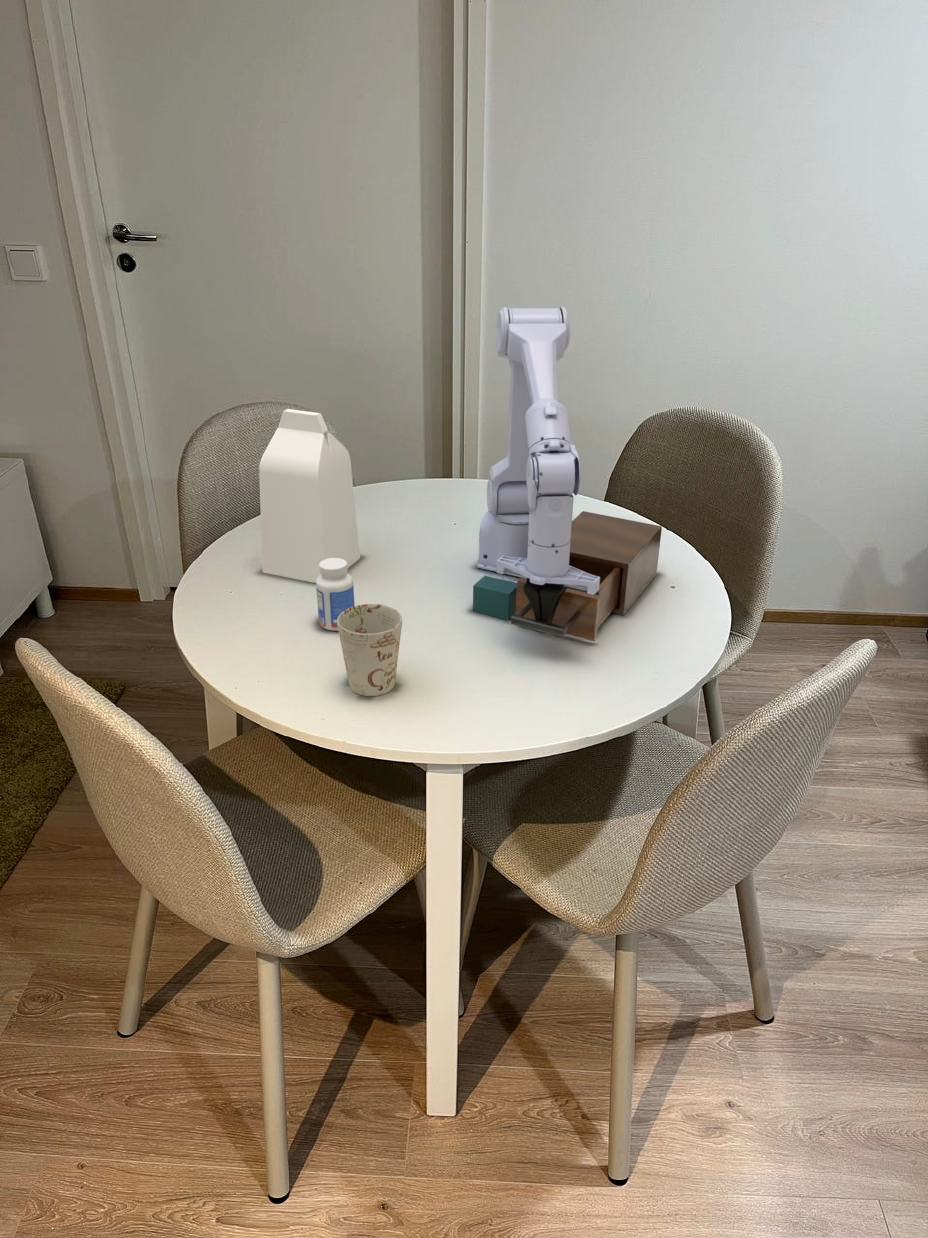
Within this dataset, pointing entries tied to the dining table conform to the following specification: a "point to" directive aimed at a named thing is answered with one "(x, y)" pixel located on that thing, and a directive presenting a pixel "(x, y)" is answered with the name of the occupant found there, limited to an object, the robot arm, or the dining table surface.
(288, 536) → the milk
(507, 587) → the tea box
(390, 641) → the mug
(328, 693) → the dining table surface
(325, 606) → the pill bottle
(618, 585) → the drawer
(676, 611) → the dining table surface
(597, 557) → the cabinet
